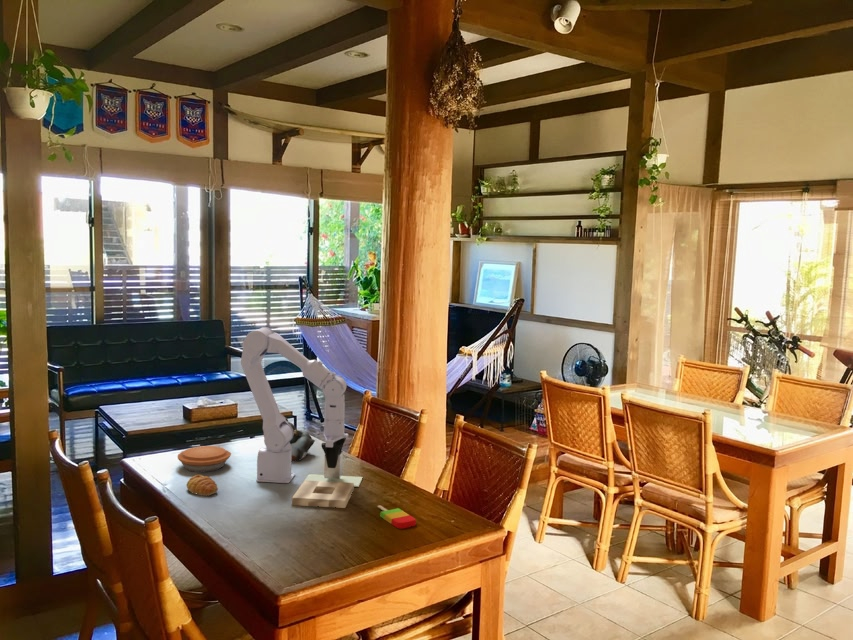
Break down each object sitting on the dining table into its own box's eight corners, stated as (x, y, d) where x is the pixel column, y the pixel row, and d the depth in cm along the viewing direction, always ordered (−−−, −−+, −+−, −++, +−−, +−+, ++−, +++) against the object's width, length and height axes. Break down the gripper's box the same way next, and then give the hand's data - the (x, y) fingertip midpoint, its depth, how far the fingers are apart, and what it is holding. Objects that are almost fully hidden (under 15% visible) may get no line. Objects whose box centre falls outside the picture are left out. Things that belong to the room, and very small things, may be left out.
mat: (302, 484, 202) (302, 483, 202) (308, 475, 210) (308, 474, 210) (358, 487, 201) (358, 486, 201) (362, 478, 209) (362, 476, 209)
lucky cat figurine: (299, 464, 220) (277, 426, 218) (270, 473, 226) (249, 436, 223) (321, 439, 233) (301, 403, 231) (294, 448, 239) (273, 413, 236)
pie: (201, 477, 205) (201, 461, 205) (166, 467, 214) (166, 451, 213) (241, 465, 218) (241, 449, 218) (207, 455, 227) (207, 440, 226)
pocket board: (292, 505, 186) (292, 497, 186) (304, 487, 200) (304, 480, 200) (345, 508, 185) (345, 500, 185) (353, 489, 199) (353, 482, 199)
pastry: (224, 493, 194) (224, 479, 194) (202, 499, 189) (201, 485, 189) (205, 484, 200) (205, 471, 200) (183, 490, 195) (183, 477, 195)
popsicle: (398, 531, 173) (399, 523, 173) (369, 510, 185) (369, 503, 185) (418, 527, 176) (418, 519, 176) (387, 507, 188) (387, 500, 188)
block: (324, 478, 204) (324, 454, 203) (327, 473, 208) (327, 449, 207) (339, 478, 203) (340, 455, 203) (342, 474, 208) (342, 450, 207)
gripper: (343, 425, 196) (342, 473, 198) (352, 413, 211) (351, 458, 212) (318, 424, 197) (317, 472, 198) (328, 412, 211) (328, 457, 213)
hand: (333, 465), depth 205 cm, fingers closed on block, 4 cm apart
